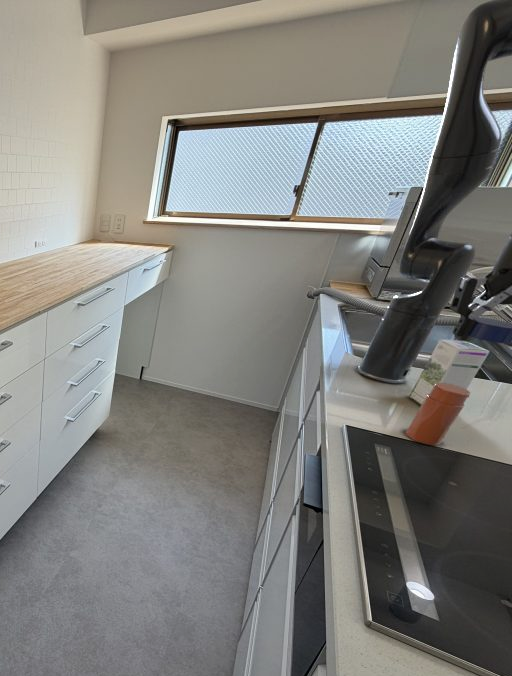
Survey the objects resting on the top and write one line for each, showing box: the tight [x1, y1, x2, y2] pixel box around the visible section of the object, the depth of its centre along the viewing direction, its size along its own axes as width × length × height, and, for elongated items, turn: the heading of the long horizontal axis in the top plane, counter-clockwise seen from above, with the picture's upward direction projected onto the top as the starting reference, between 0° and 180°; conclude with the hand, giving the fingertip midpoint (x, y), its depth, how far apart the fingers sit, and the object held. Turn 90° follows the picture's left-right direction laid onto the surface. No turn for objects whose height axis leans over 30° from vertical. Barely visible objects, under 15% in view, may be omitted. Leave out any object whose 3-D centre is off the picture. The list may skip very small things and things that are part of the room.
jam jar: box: [405, 383, 471, 446], centre depth 77 cm, size 5×5×11 cm
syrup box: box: [408, 339, 490, 406], centre depth 89 cm, size 6×6×14 cm
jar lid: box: [468, 316, 512, 344], centre depth 70 cm, size 6×6×3 cm
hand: (484, 341), depth 71 cm, fingers closed on jar lid, 6 cm apart
